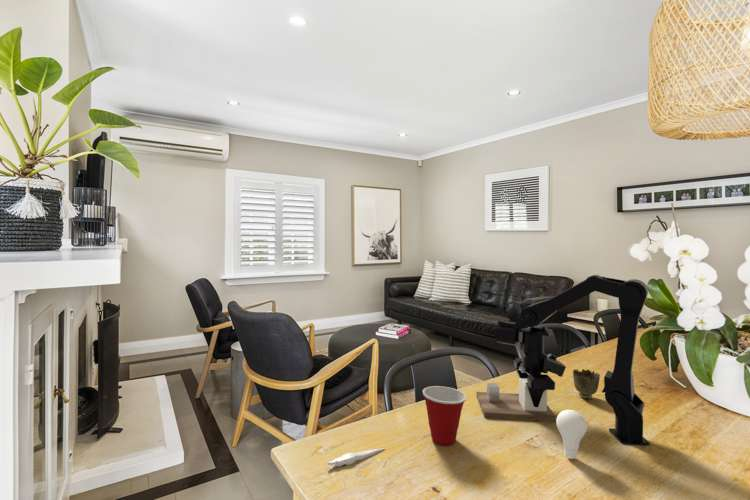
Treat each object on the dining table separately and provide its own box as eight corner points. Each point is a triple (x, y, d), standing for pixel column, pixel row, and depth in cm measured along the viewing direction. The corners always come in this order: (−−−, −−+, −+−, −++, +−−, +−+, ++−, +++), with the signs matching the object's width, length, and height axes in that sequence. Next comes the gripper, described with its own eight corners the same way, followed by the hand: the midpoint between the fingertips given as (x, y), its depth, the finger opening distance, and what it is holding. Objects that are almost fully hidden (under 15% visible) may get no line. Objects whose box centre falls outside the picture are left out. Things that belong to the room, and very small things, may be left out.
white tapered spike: (329, 472, 80) (330, 463, 80) (324, 466, 82) (325, 457, 82) (388, 455, 88) (388, 447, 88) (382, 450, 90) (382, 442, 90)
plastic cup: (476, 443, 91) (476, 394, 91) (442, 457, 86) (443, 405, 85) (445, 424, 101) (445, 380, 100) (413, 436, 95) (413, 389, 95)
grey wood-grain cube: (499, 402, 111) (499, 387, 111) (488, 401, 111) (489, 386, 111) (497, 398, 114) (497, 383, 114) (487, 397, 114) (487, 383, 114)
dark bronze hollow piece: (592, 393, 121) (593, 368, 121) (604, 403, 114) (604, 377, 114) (568, 392, 122) (568, 368, 122) (578, 402, 114) (578, 376, 114)
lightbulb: (559, 448, 89) (560, 402, 89) (588, 457, 85) (589, 409, 85) (552, 459, 85) (553, 411, 84) (583, 470, 81) (583, 420, 80)
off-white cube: (546, 411, 105) (547, 386, 105) (524, 410, 106) (524, 385, 106) (539, 402, 111) (540, 378, 111) (518, 401, 112) (519, 377, 112)
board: (555, 421, 103) (555, 415, 103) (484, 417, 105) (484, 412, 105) (539, 399, 116) (539, 394, 116) (476, 396, 119) (476, 392, 119)
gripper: (576, 359, 98) (575, 418, 98) (550, 340, 116) (550, 390, 117) (531, 358, 99) (531, 416, 100) (513, 339, 118) (513, 388, 118)
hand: (532, 401), depth 108 cm, fingers closed on off-white cube, 6 cm apart
